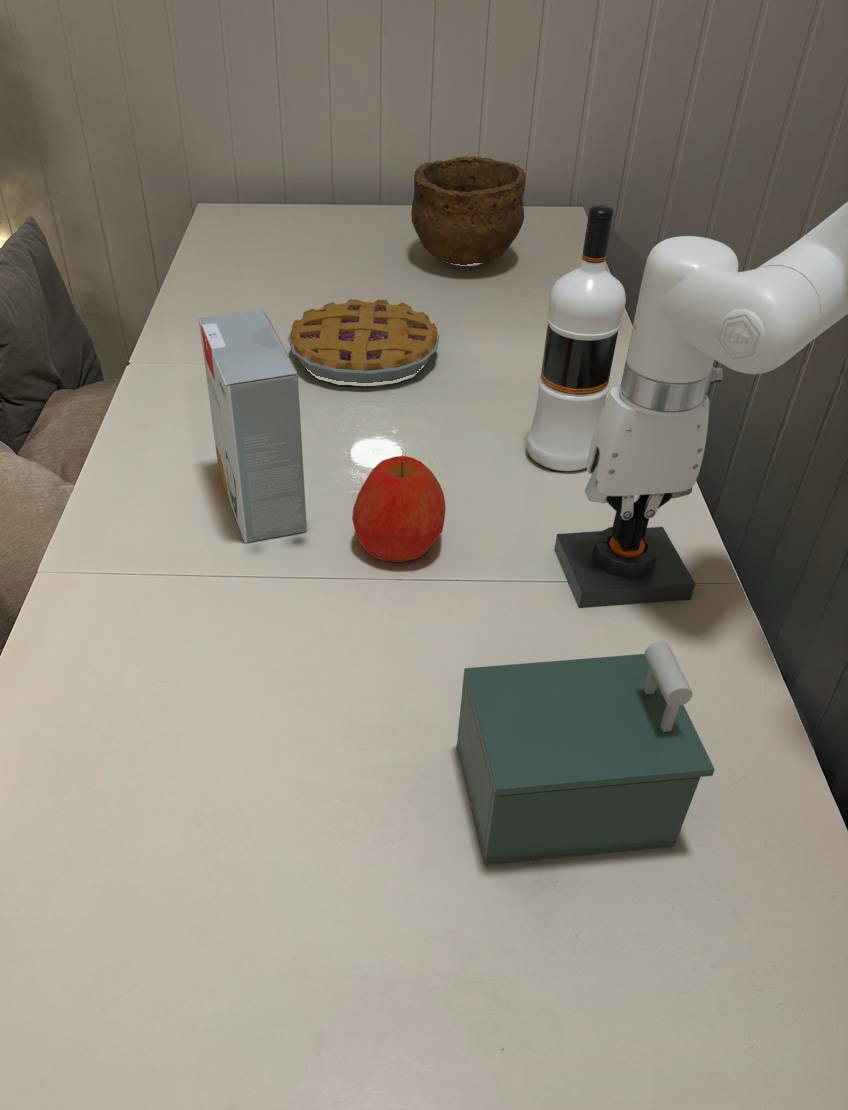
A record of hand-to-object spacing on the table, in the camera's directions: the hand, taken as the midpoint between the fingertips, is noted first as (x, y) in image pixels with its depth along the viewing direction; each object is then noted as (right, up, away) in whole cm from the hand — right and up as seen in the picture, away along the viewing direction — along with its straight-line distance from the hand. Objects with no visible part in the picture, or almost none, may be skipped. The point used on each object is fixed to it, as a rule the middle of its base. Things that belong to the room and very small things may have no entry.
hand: (626, 542), depth 99 cm
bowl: (-10, +55, +65) cm, 86 cm away
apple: (-24, 0, +7) cm, 25 cm away
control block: (0, -3, +3) cm, 4 cm away
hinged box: (-11, -23, -19) cm, 32 cm away
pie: (-28, +31, +40) cm, 57 cm away
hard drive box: (-40, +6, +13) cm, 42 cm away
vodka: (-2, +13, +20) cm, 24 cm away
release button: (0, -1, +1) cm, 2 cm away
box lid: (-10, -17, -25) cm, 32 cm away
